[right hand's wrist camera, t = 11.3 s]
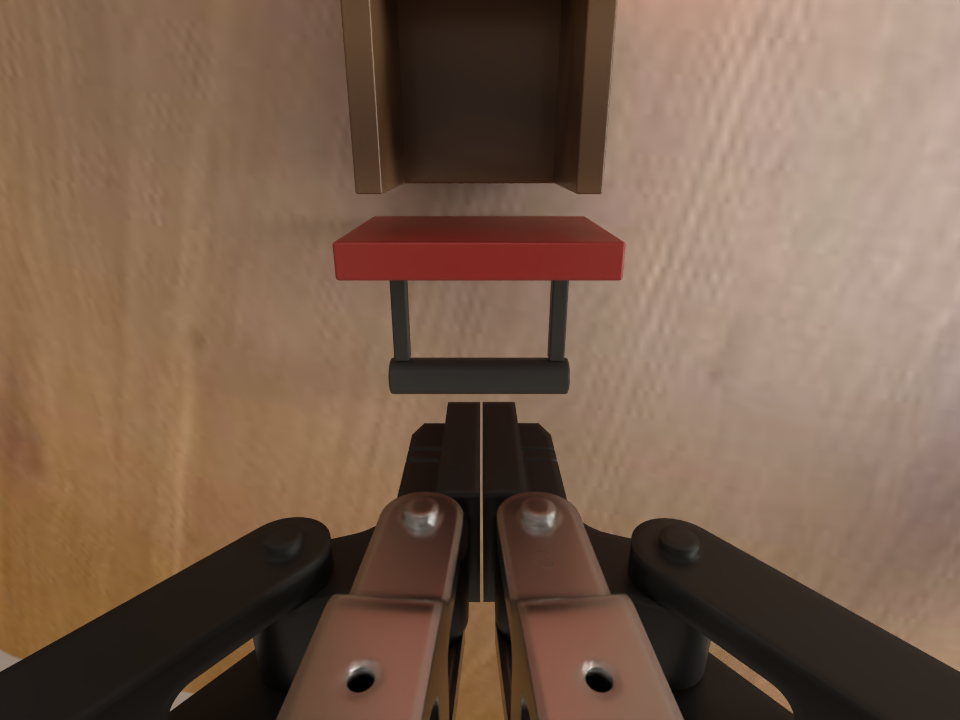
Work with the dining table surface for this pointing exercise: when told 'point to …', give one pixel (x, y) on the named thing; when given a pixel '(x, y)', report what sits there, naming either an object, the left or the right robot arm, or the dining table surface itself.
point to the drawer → (479, 160)
